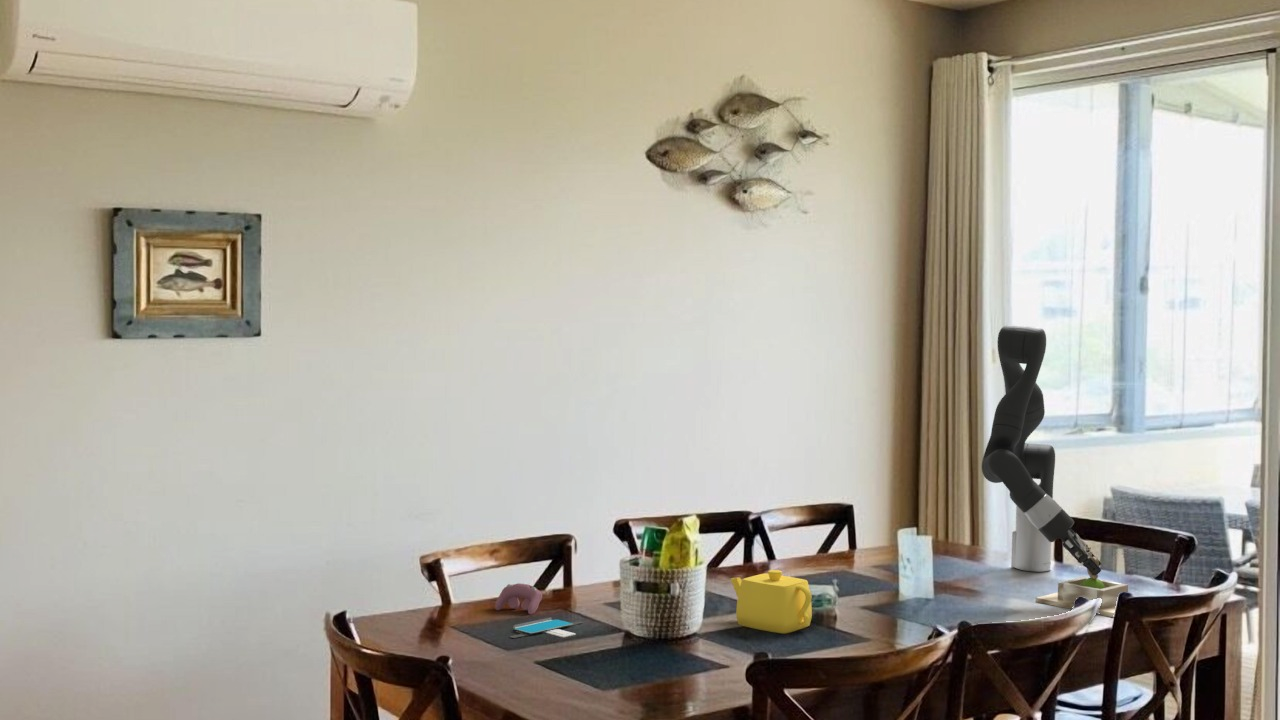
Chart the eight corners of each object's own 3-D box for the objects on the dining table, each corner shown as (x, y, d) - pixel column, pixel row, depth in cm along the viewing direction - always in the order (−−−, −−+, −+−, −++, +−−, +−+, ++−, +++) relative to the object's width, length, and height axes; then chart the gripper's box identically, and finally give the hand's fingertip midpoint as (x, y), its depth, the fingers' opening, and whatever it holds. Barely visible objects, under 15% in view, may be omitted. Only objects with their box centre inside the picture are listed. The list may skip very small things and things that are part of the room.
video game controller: (539, 619, 299) (547, 588, 302) (531, 613, 295) (538, 582, 298) (500, 614, 303) (508, 584, 306) (491, 608, 299) (499, 578, 302)
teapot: (715, 621, 294) (716, 567, 293) (748, 612, 303) (749, 559, 303) (793, 637, 281) (795, 581, 280) (825, 627, 291) (826, 572, 290)
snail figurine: (1097, 597, 321) (1099, 547, 320) (1108, 603, 314) (1110, 552, 314) (1075, 597, 321) (1076, 546, 320) (1085, 603, 314) (1087, 551, 314)
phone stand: (533, 646, 271) (533, 638, 271) (494, 636, 279) (494, 628, 279) (603, 630, 286) (603, 622, 286) (564, 620, 294) (564, 613, 294)
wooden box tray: (1035, 601, 319) (1036, 580, 319) (1072, 593, 330) (1072, 572, 330) (1114, 617, 305) (1115, 595, 304) (1149, 607, 315) (1150, 586, 315)
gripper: (1060, 511, 312) (1111, 564, 309) (1061, 503, 326) (1110, 554, 322) (1035, 532, 314) (1086, 586, 311) (1037, 523, 327) (1086, 574, 324)
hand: (1098, 569), depth 317 cm, fingers open, 8 cm apart
